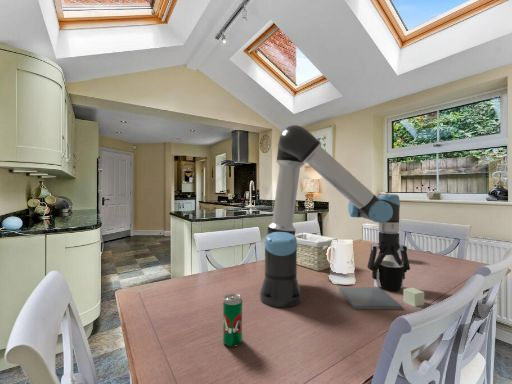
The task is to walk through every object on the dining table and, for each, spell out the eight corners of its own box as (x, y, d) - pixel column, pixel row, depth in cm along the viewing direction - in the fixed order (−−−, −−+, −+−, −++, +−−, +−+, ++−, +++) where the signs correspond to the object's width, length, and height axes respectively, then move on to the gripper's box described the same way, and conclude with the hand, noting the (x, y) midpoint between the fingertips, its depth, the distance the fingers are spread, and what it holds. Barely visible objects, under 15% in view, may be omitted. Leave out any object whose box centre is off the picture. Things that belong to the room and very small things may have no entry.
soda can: (243, 336, 70) (243, 293, 70) (241, 348, 65) (241, 301, 65) (224, 336, 71) (224, 292, 70) (221, 347, 66) (221, 301, 65)
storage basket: (283, 261, 142) (283, 234, 142) (304, 256, 152) (304, 231, 152) (317, 273, 123) (318, 242, 123) (338, 266, 133) (338, 238, 132)
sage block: (414, 306, 89) (414, 293, 89) (403, 301, 93) (403, 288, 93) (424, 304, 90) (424, 292, 90) (412, 299, 94) (412, 287, 94)
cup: (380, 258, 148) (380, 237, 148) (391, 257, 150) (391, 237, 150) (391, 262, 140) (391, 240, 140) (403, 261, 143) (403, 239, 142)
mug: (408, 290, 102) (408, 265, 102) (393, 294, 98) (393, 268, 98) (381, 280, 113) (382, 257, 113) (367, 284, 109) (367, 260, 109)
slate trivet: (353, 308, 87) (353, 305, 87) (338, 289, 103) (338, 286, 103) (401, 309, 87) (401, 305, 87) (379, 290, 103) (379, 287, 103)
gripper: (366, 233, 101) (365, 290, 102) (421, 233, 101) (420, 290, 102) (358, 230, 109) (358, 283, 109) (409, 230, 109) (409, 283, 109)
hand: (388, 286), depth 106 cm, fingers open, 9 cm apart
